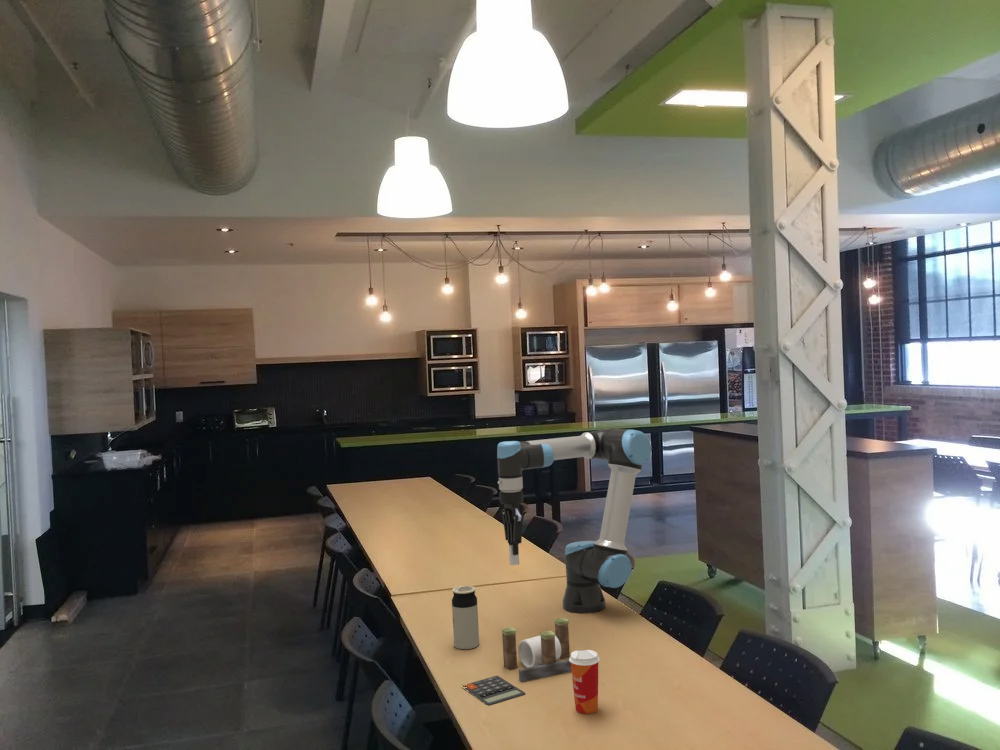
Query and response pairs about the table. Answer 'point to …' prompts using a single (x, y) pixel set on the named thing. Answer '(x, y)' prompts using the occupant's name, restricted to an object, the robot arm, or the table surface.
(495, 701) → the calculator
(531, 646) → the mug
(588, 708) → the paper cup
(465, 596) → the travel mug
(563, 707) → the table surface
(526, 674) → the header dock
